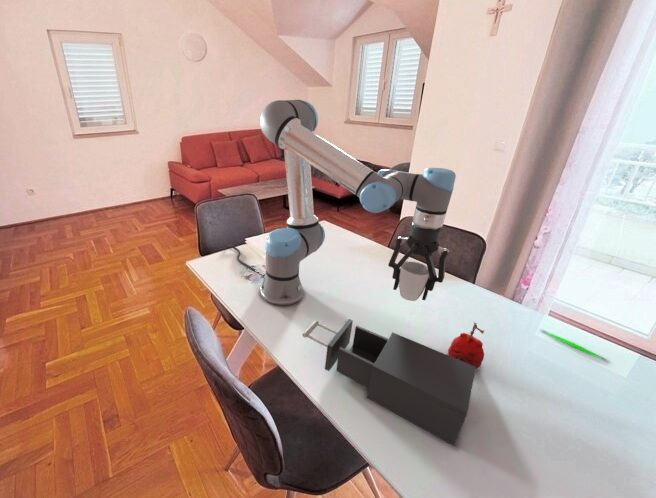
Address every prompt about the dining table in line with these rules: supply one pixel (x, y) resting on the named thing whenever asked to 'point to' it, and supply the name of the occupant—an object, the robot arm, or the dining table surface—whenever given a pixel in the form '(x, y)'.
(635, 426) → the dining table surface
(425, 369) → the grey storage cabinet
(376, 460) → the dining table surface
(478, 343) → the red fruit with stem
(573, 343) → the leaf
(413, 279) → the cup
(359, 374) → the drawer
